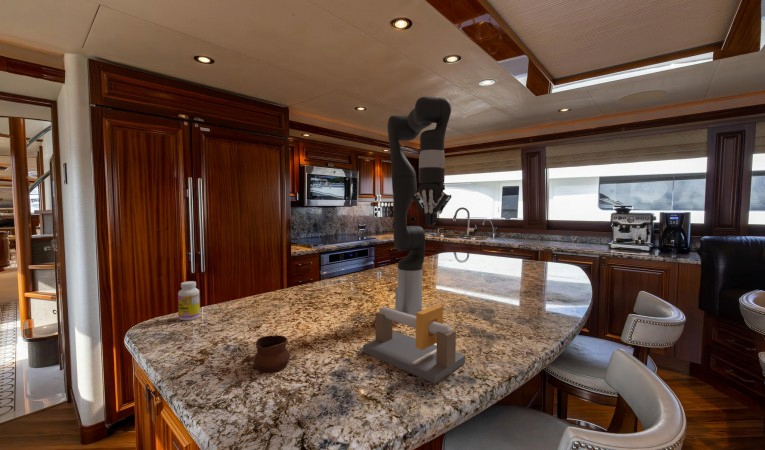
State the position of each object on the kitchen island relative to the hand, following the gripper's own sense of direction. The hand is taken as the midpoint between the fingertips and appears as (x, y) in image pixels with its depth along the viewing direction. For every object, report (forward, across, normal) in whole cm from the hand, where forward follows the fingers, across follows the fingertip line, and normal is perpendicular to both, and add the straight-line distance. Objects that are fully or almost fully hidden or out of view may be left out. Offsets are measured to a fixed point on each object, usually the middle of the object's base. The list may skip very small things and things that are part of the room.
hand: (430, 226), depth 99 cm
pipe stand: (+35, +3, -12) cm, 37 cm away
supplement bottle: (+35, -74, -43) cm, 93 cm away
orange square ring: (+30, +9, -12) cm, 33 cm away
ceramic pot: (+36, -20, -40) cm, 58 cm away
